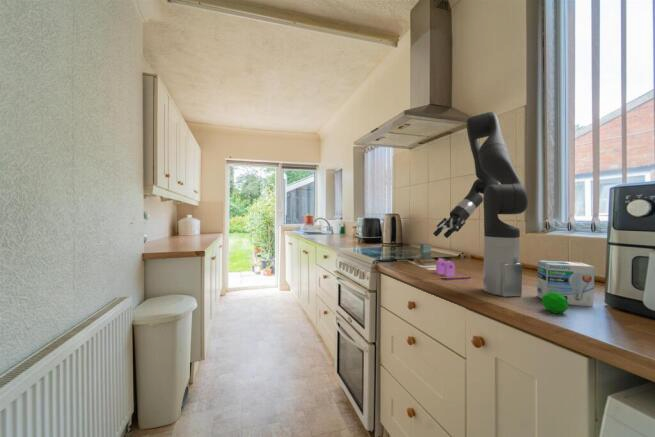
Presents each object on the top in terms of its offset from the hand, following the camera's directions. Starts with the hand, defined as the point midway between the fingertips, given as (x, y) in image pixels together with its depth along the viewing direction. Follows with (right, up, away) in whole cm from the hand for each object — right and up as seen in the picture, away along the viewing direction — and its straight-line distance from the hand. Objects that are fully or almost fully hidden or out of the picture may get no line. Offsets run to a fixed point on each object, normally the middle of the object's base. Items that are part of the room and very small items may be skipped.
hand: (439, 235), depth 125 cm
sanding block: (-7, -13, -1) cm, 15 cm away
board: (-7, -14, -4) cm, 16 cm away
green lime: (+4, -15, -58) cm, 60 cm away
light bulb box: (+14, -15, -49) cm, 53 cm away
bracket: (-3, -15, -22) cm, 26 cm away
